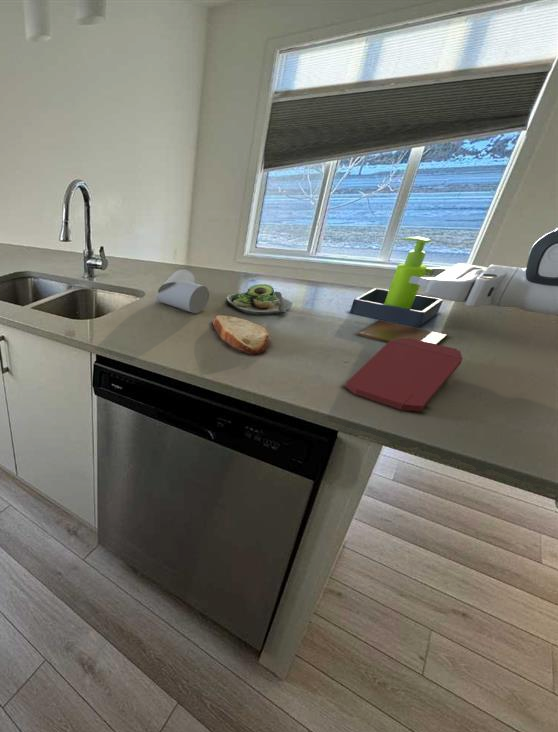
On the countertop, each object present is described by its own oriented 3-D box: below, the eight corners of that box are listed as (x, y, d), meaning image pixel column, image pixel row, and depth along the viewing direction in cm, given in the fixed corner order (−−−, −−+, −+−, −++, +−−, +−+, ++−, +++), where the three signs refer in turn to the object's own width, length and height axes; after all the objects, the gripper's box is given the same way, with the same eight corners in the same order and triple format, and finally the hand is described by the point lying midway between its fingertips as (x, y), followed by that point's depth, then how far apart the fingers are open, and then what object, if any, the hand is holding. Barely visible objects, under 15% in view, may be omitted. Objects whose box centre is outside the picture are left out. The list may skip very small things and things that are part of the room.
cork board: (446, 337, 97) (447, 334, 97) (427, 352, 91) (428, 350, 91) (378, 322, 107) (379, 319, 107) (358, 335, 102) (358, 332, 101)
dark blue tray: (437, 313, 109) (443, 299, 107) (418, 327, 102) (424, 312, 100) (370, 300, 120) (375, 287, 118) (349, 312, 114) (353, 299, 112)
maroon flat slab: (410, 429, 74) (462, 367, 84) (419, 409, 72) (471, 347, 81) (338, 403, 83) (393, 350, 93) (343, 384, 80) (399, 331, 90)
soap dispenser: (387, 307, 115) (414, 234, 105) (413, 314, 109) (444, 238, 99) (372, 311, 113) (397, 237, 103) (397, 319, 108) (427, 241, 98)
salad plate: (310, 314, 115) (314, 299, 112) (249, 321, 114) (252, 305, 112) (272, 294, 132) (275, 280, 129) (219, 300, 131) (221, 286, 129)
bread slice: (218, 319, 117) (220, 307, 116) (285, 333, 106) (288, 319, 104) (188, 340, 107) (189, 327, 105) (258, 358, 95) (261, 343, 94)
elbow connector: (138, 298, 135) (183, 314, 120) (144, 266, 131) (192, 278, 116) (174, 297, 144) (221, 312, 129) (181, 267, 140) (230, 279, 124)
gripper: (510, 262, 97) (437, 254, 107) (484, 281, 88) (406, 270, 98) (497, 287, 100) (427, 277, 110) (471, 308, 91) (397, 296, 101)
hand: (417, 274), depth 104 cm, fingers open, 8 cm apart
